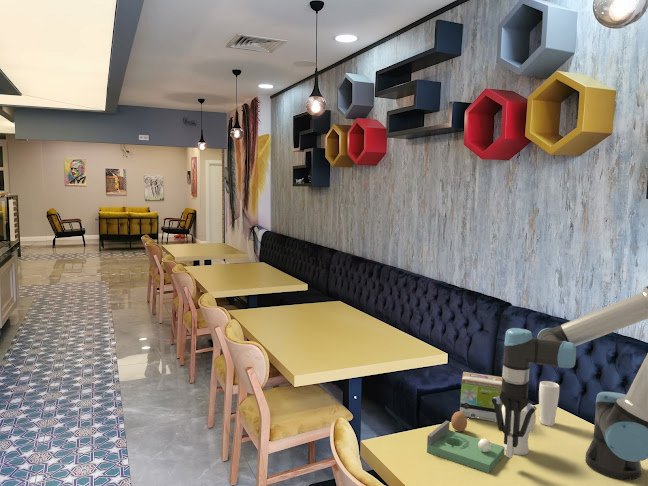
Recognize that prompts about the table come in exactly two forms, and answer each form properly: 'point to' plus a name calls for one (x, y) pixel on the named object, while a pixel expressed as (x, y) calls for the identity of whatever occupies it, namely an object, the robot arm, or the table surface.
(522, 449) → the cup
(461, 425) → the egg
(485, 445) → the ball
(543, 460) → the table surface
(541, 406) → the drinking glass
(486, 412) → the tea box
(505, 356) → the robot arm
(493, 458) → the green
